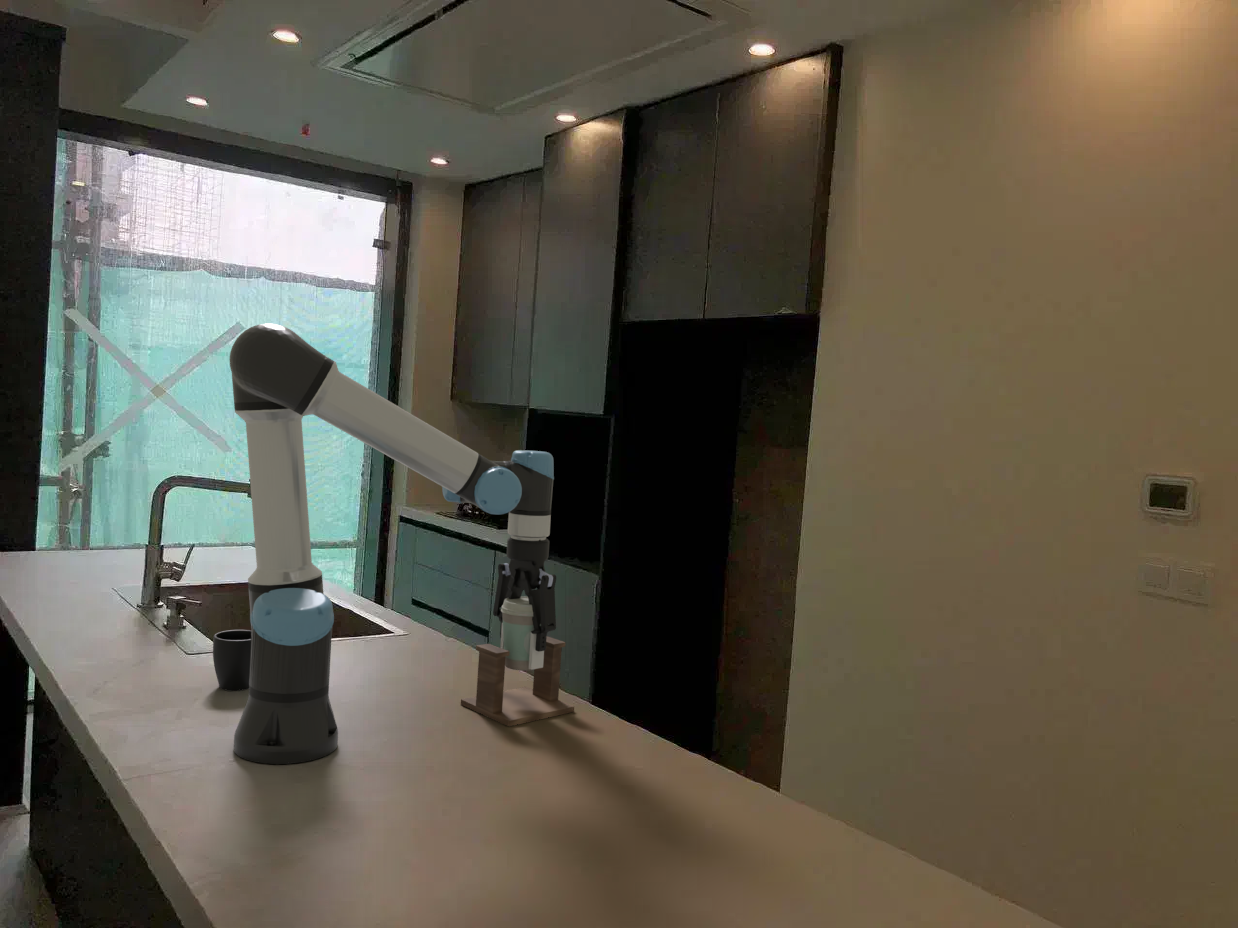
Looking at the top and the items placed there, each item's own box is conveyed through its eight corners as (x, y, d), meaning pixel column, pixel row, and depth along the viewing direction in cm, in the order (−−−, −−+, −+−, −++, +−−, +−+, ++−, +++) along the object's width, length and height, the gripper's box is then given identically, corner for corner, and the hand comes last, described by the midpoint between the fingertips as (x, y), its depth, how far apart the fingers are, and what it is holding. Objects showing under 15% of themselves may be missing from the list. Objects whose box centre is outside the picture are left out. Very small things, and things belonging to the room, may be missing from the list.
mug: (287, 685, 180) (289, 634, 180) (223, 695, 172) (225, 642, 171) (266, 674, 186) (268, 625, 186) (203, 684, 177) (205, 632, 177)
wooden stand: (506, 726, 166) (511, 658, 165) (458, 704, 176) (462, 640, 175) (575, 711, 177) (580, 647, 176) (526, 691, 187) (531, 630, 186)
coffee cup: (522, 675, 170) (526, 607, 169) (487, 665, 175) (491, 599, 175) (554, 667, 177) (558, 601, 176) (520, 657, 182) (524, 593, 181)
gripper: (582, 544, 170) (574, 673, 171) (509, 528, 185) (502, 647, 186) (549, 546, 165) (541, 679, 166) (477, 530, 179) (470, 652, 181)
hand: (521, 662), depth 176 cm, fingers closed on coffee cup, 8 cm apart
